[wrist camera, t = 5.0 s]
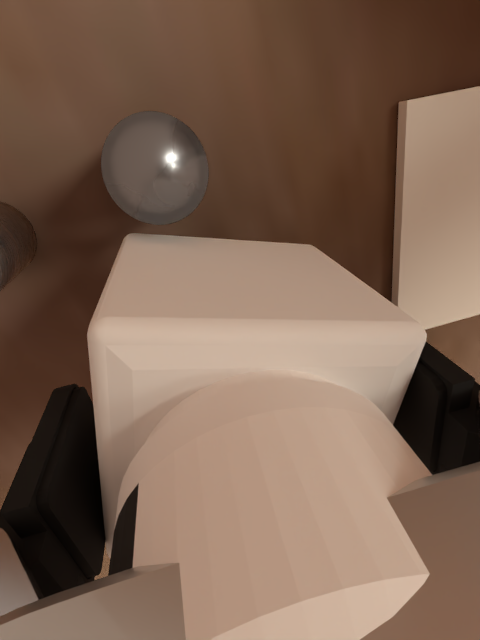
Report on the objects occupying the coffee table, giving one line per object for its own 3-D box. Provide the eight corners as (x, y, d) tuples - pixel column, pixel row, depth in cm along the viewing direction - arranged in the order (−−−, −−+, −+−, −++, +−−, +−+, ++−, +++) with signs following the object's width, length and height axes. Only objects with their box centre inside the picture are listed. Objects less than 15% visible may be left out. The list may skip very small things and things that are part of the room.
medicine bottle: (284, 390, 17) (480, 802, 6) (128, 394, 15) (52, 946, 5) (315, 242, 14) (794, 576, 3) (123, 229, 12) (-122, 783, 2)
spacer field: (367, 80, 15) (456, 53, 11) (367, 379, 22) (419, 435, 18) (-88, 166, 13) (-213, 176, 8) (80, 463, 20) (60, 550, 16)
